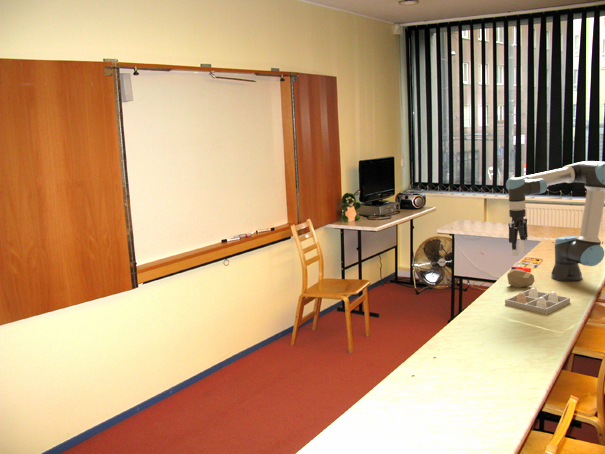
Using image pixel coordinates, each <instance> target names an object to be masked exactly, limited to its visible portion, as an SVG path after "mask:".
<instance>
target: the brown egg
mask: <svg viewBox="0 0 605 454" xmlns="http://www.w3.org/2000/svg"><path fill="white" fill-rule="evenodd" d="M517 302H519V303H523V304H526V297H525V295H524V293H522V292H519V293H518V296H517Z"/></svg>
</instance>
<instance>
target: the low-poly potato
mask: <svg viewBox="0 0 605 454" xmlns="http://www.w3.org/2000/svg"><path fill="white" fill-rule="evenodd" d="M507 283H508V285H510V286H511V287H513V288H526V287H530V286H533V285H534V283H535V276H534V275H533V274H532V273H531V272H527V271H525V270H522V269H521V268H511V269H510V270H509V271H508V273H507Z"/></svg>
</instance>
